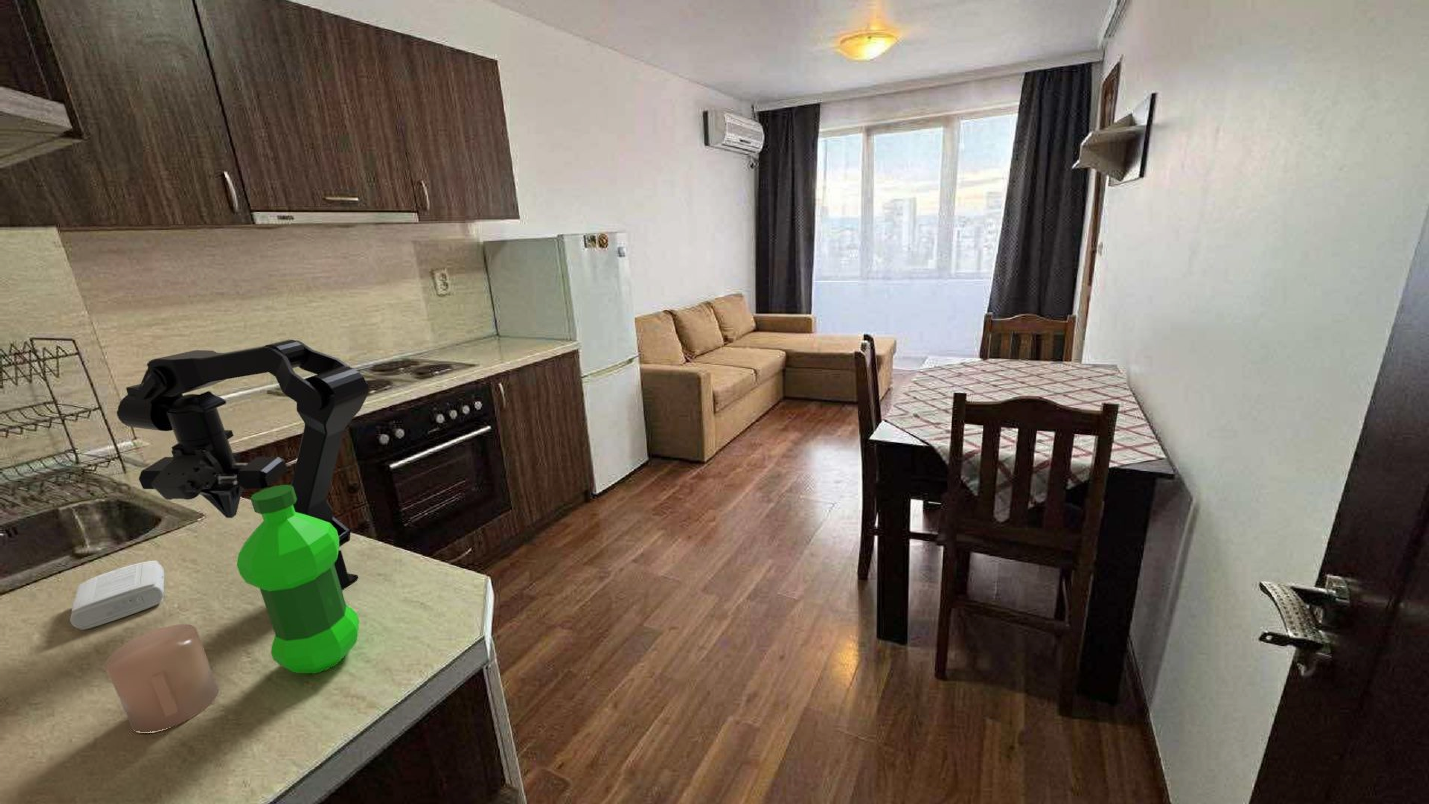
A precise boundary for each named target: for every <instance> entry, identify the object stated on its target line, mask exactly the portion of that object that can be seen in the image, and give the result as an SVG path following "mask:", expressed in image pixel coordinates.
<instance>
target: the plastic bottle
mask: <svg viewBox="0 0 1429 804" xmlns="http://www.w3.org/2000/svg"><path fill="white" fill-rule="evenodd" d="M296 500H297V498H296V494H295V491H294V488H293V486H291V484H279V485H274V486H271V487H270V486H269V487H266V488H263V489H260V490H259V491H257V492H255V493H254V494H253V493H252V495H251V497H250V503H251V505H252V507H253V511H254V513H256V514H259V515H261V517H262V520H263V521H262V522H261V523H260V524H259V525H258V526H257V527H256V528H255V529H254V531H253V532H252V533H251V534H250V535H249V537H248V538H247V539H246V540H245V542H244V543H243V545H242V546H241V549H240V551H239V552H238V556H237V560H236V561H237V562H236V566H237V569H238V572H239V575H240V576H241V578H242V579H243V580H244V582H245V583H246V584H249V585H250V586H253V587H256V588H257V589H259V590H260V593H261V597H262V599H263V601H264V604H265V607H266V611H267V614H268V617H269V620H270V622H271V626H272V629H273V631H274V634H275V635H274V637H273V641H272V645H271V651H270V653H271V657H272V659H273V660H274V661H275V662H276V663H277V664H279V666H280V667H283V668H285V669H287V670H288V671H291V672H293V673H296V674H307V675H310V674H309V673H312V674H318V672H319V673H322V672H321V671H323V670H325V671H327V670H329V669H330V668H329V667H331V668H333V667H335V666H334V665H336V664H337V665H338V664H339V663H340V662H342V660H343V659H345V657H346V656H347V654H348V653H349V652H350V651H351V649H353V647H354V646H355V644H356V643H357V641H358V635H359V627H360V618H359V615H358V613H357V612H356V611H355V610H354V609H353V608H352V607H351V606H349V605H347V604H346V601H345V598H344V597H345V596H344V593H343V589H341V586H340V583H339V579H338V576H337V572H336V569H335V565H334V563H335V561H336V560H337V557H338V552H339V550H340V547H339V536H338V533H337V530H336V529H335V528H334V527H333V525H332V524H331V523H329V522H326V521H323V520H320V519H317V518H314V517H311V516H308V515H305V514H301V513H297V512H295V510H294V506H293V504H295V503H296ZM345 655H346V656H345ZM344 656H345V657H344ZM342 658H343V659H342ZM341 659H342V660H341ZM339 661H340V662H339ZM338 662H339V663H338ZM337 665H336V666H337ZM332 666H333V667H332ZM328 668H329V669H328ZM326 669H327V670H326ZM323 672H324V671H323Z"/></svg>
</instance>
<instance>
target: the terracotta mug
mask: <svg viewBox="0 0 1429 804" xmlns="http://www.w3.org/2000/svg"><path fill="white" fill-rule="evenodd" d="M104 664H105V669H106V671H107V673H108V675H109V678H110V680H111V682H112V685H113V687H114V689H115V691H116V694H117V697H118V698H119V701H120V703H121V706H122V708H123V710H124V712H125V715H126V718H127V720H128V722H129V723H130V727H131V728H133V729H134V730H135V731H140V732H150V731H151V732H152V731H158V730H162V729H166V728H169V727H173V726H175V725H178V724H180V723H182V722H184V721H186V720H187V719H190V720H191V719H193V718H194V717H196V716H198V715H199V714H200V713H202V712H203V711H204V710H206V709H207V708H208V707H209V706H210V705H211V704H212V702H214V701H215V700H216V697H217V695H218V693H219V686H218V685H217V681H216V678H215V676H214V673H213V671H212V668H211V665H210V663H209V660H208V656H207V654H206V652H205V649H204V646H203V643H202V641H201V638H200V636H199V633H198V631H197V627H196V626H194V625H191V624H187V623H184V624H183V623H182V624H173V625H168V626H163V627H161V628H157V629H155V630H152V631H149V632H147V633H145V634H142V635H140V636H137V637H135V638H134V639H131V640H130V641H128V642H127V643H125V644H123V645H121V646H120V647H119V648H117V649H116V650H115V651H114V652H112V654H111V655H109V656H108V658H107V659H106V661H105V663H104ZM201 711H202V712H201ZM193 716H194V717H193ZM192 717H193V718H192ZM186 722H187V721H186ZM184 723H185V722H184ZM182 724H183V723H182ZM180 725H181V724H180ZM178 726H179V725H178ZM175 727H176V726H175ZM173 728H174V727H173ZM133 729H132V730H133Z"/></svg>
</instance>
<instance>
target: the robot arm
mask: <svg viewBox="0 0 1429 804" xmlns="http://www.w3.org/2000/svg"><path fill="white" fill-rule="evenodd" d="M146 366H147V369H146V371H145V372H144V375H143V378H142V380H141V383H138V384H134V385H130V386H126V388H125V390H126V393H127V394H126V395H125V396H124V397H123V398H122V399H121V400H120V402H119V404H118V406H117V411H116V415H117V418H118V420H119V421H120V422H121V423H122V424H123V425H125V426H126V427H130V428H136V429H145V430H151V431H161V432H169V431H170V432H171V431H173V434H174V436H175V439H176V442H177V443H176V444H173V446H171V454H172V456H164V457H163V458H160V459H159V460H158V461H155V462H154V463H152V464H151V465H149V466H147V467H145V468H144V469H142V470H141V471H140V474H139V476H138V481H139V483H140V485H141V488H142V489H143V490H155V491H156V492H157V493H158V494H159V495H161V496H162V498H164V499H165V500H168V501H171V500H174V499H175V500H186V501H188V500H193V499H195V498H197V497H198V496H202V497H203V498H204V499H206V500H207V501H208V502H209V503H210V504H212V506H213V507H215V508H216V509H217V510H218V512H220V513H221V514H222V515H223V516H224V517H225V518H226V519H233V518H234V517H236V515H237V514H238V513H237V512H238V508H239V505H240V500H241V497H242V492H243V489H244V490H245V489H246V490H249V489H250V490H256V489H257V490H263V489H267V488H269V487H270V486H271V485H272V484H273V483H275V482H276V481H277V480H278V479H280V478H281V476H283V475H284V474H286V472H288V471H289V468H288V467H287V463H286V461H285V458H282V457H280V456H257V457H255V458H253V459H252V460H251V461H250V462H238V461H240V460H241V459H242V456H241V452H233V449H232V447H231V444H230V441H229V439H231V438H233V437H234V432H233V430H232V429H225V427H224V424H223V422H222V418H221V415H220V413H219V409H218V408H219V407H222V406H224V405H227V401H226V399H224V398H222V397H221V396H219V395H216V394H214V393H213V392H212V391H209V390H207V391H205V392H203V393H200V394H198V393H190V394H186V393H189V392H193V391H197V390H198V391H199V390H201V389H205V388H207V387H211V386H214V385H217V384H218V383H219V384H220V383H221V382H224V381H226V380H229V379H230V380H231V379H236V378H241V377H249V376H254V375H260V374H267V373H269V374H271V375H272V376H274V377H275V379H276V380H277V383H278V386H279V388H280V390H281V392H282V393H283V394H284V395H285V396H286V397H288V398H290V399H291V400H292V401H294V402H296V412H297V413H298V415H299V416H300V419H301V420H302V422H303V423H304V427H303V432H302V436H301V440H300V444H299V448H298V449H299V450H298V455H297V458H296V462H295V466H294V467H295V468H294V470H293V471H294V472H293V475H292V480H291V484H290V486H293V488H294V491H295V494H296V498H297V500H296V503H295V504H293V506H294V510H295V512H297V513H301V514H305V515H308V516H311V517H314V518H317V519H320V520H323V521H326V522H329V523H331V524H332V525H333V527H334V528H335V529H336V530H337V533H338V536H339V548H341V547H342V546H344V544H347V543H348V542H350V540H351V532H352V531H351V530H350V529H349V528H348V527H347V526H345V525H344V524H343V523H342V522H341V521H339V520H338V519H337V518H336V517H334V510H333V508H332V506H331V505H330V503H329V502H328V494H329V490H330V488H331V483H332V479H333V475H334V471H335V468H336V464H337V459H338V456H339V453H340V449H341V444H342V440H343V437H344V433H345V429H346V428H347V426H348V425H349V423H350V422H351V421H353V419H354V417H356V415H357V414H358V413H360V411H361V409H362V407H363V405H364V403H365V401H366V400H367V397H368V395H369V393H370V392H369V389H370V387H369V383H368V382H367V380H366V379H365V377H364V376H363V375H362V373H361V372H360V371H359V370H357V369H355V368H354V367H352V366H350V365H348V364H347V363H345V362H344V361H343V360H341V359H340V358H337V357H335V356H332V355H329V354H327V353H326V354H325V353H323V352H320V351H318V350H314V349H312V348H311V347H310V346H308V345H306V344H305V343H303V342H302V341H300V340H298V339H297V340H294V339H285V340H282V341H278V342H274V343H270V344H265V345H261V346H256V347H255V346H254V347H250V348H243V349H238V350H233V351H228V352H216V351H214V350H208V349H207V350H206V349H204V350H203V349H200V350H199V349H195V350H190V351H185V352H181V353H175V354H171V355H167V356H161V357H157V358H153V359H150V360H149V361H148V362H147V363H146ZM296 368H299V369H300V370H303V371H307V372H309V373H310V374H314V375H311V376H308V377H305V378H303V377H302V376H300V375H299V374H297V373H296V372H295V371H294V369H296ZM183 394H184V395H183ZM345 563H346V562H345V560H344V556H343V553H342V550H341V549H339V552H338V557H337V560H336V561H335V563H334V565H335V569H336V572H337V576H338V579H339V583H340V586H341V589H342V590H344V588H346V587H348V586H349V585H351V584H352V583H354V582H355V581H357V580H359V575H358V574H355V573H349V572H348V570H347V566H346V564H345Z"/></svg>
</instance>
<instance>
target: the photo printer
mask: <svg viewBox="0 0 1429 804" xmlns="http://www.w3.org/2000/svg"><path fill="white" fill-rule="evenodd" d="M164 595H165V570H164V568H163V566H162V565H161V564H160V563H159V561H158V560H148V561H143V562H138V563H134V564H130V565H125V566H123V567H120V568H117V569H113V570H111V571H108V572H104V573H102V574H99V575H96V576H95V577H92V578H89V579H87V580H86V581H83V582H81V583H80V584H78V587H77V589H76V594H75V597H74V600H73V604H72V607H71V614H70V619H69V620H70V623H71V625H72V626H73V627H74V628H75V629H80V630H82V631H83V630H88V629H92V628H95V627H98V626H101V625H104V624H107V623H110V622H113V621H116V620H119V619H122V618H125V617H128V616H131V615H133V614H137V613H139V612H141V611H144V610H148V609H149V608H153V607H154V606H157V605H158V604H160V603H162V602H163V600H164Z"/></svg>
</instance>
